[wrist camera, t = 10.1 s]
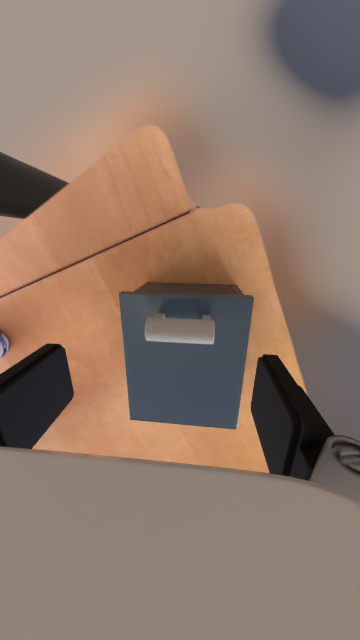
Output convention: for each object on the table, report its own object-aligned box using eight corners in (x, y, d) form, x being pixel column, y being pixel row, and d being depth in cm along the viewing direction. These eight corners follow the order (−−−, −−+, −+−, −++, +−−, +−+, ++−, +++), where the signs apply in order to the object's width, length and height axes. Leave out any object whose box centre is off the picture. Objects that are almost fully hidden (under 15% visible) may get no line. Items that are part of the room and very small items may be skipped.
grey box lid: (121, 291, 19) (97, 305, 15) (251, 295, 18) (267, 311, 14) (132, 414, 24) (116, 453, 20) (235, 423, 23) (243, 467, 19)
